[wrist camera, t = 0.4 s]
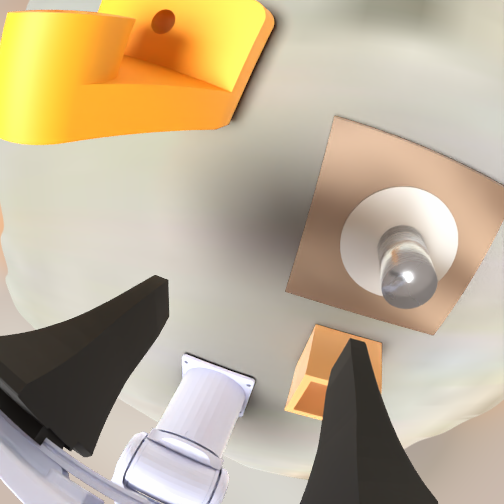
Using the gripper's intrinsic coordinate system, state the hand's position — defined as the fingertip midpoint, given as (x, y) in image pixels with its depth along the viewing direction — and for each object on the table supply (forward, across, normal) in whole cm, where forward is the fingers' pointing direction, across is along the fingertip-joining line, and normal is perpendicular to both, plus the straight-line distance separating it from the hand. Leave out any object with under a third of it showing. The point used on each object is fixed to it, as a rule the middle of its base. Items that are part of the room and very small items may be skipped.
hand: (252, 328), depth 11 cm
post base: (+10, -7, -1) cm, 12 cm away
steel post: (+10, -7, -1) cm, 12 cm away
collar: (+10, -7, +11) cm, 16 cm away
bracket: (+10, +9, -10) cm, 17 cm away
